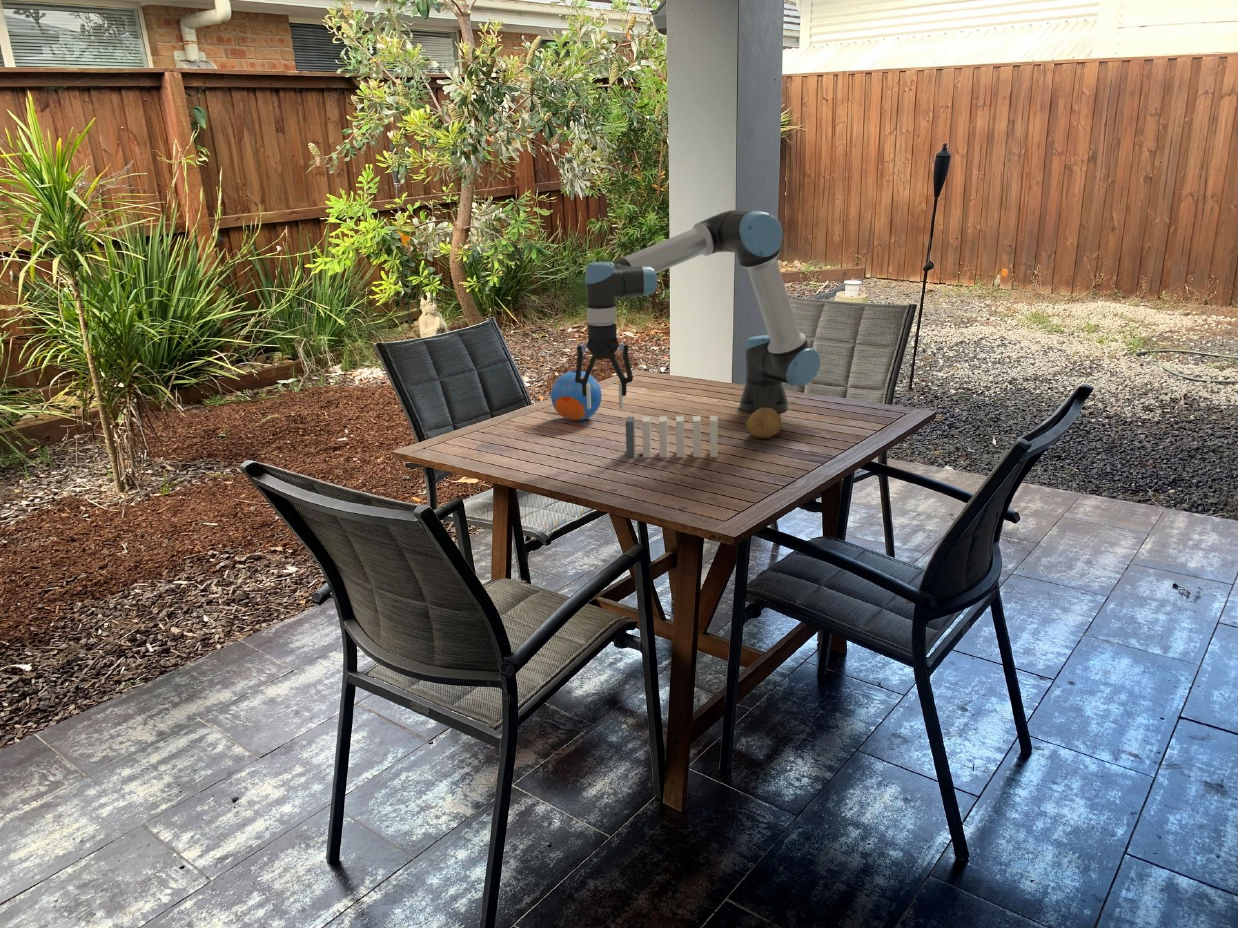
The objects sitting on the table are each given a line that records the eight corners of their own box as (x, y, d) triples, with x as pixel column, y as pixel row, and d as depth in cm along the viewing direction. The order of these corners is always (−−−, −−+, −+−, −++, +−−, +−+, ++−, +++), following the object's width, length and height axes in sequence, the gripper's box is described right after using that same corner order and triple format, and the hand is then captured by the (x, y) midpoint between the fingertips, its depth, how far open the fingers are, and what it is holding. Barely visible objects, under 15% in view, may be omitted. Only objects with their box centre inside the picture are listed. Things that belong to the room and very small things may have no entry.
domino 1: (635, 451, 250) (634, 416, 247) (634, 457, 245) (633, 421, 242) (628, 451, 250) (626, 416, 247) (626, 457, 245) (625, 421, 242)
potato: (782, 430, 265) (783, 403, 262) (779, 444, 252) (780, 416, 249) (749, 429, 267) (749, 402, 264) (744, 443, 254) (744, 415, 251)
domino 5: (700, 451, 248) (700, 416, 245) (700, 457, 244) (700, 421, 240) (693, 451, 248) (693, 416, 245) (693, 457, 244) (693, 421, 241)
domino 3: (667, 451, 249) (667, 416, 246) (667, 457, 244) (666, 421, 241) (660, 451, 249) (659, 416, 246) (659, 457, 244) (659, 421, 241)
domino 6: (717, 451, 248) (717, 416, 245) (717, 457, 243) (717, 421, 240) (709, 451, 248) (709, 416, 245) (710, 457, 243) (710, 421, 240)
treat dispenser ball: (544, 424, 278) (541, 375, 273) (565, 411, 292) (562, 364, 287) (590, 428, 273) (588, 378, 268) (609, 415, 286) (608, 367, 281)
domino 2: (651, 451, 249) (650, 416, 246) (650, 457, 245) (649, 421, 242) (644, 451, 250) (643, 416, 246) (642, 457, 245) (642, 421, 242)
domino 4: (684, 451, 249) (683, 416, 245) (683, 457, 244) (683, 421, 241) (676, 451, 249) (676, 416, 246) (676, 457, 244) (676, 421, 241)
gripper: (642, 320, 239) (644, 403, 247) (564, 321, 241) (568, 404, 248) (640, 325, 232) (643, 411, 239) (560, 326, 234) (564, 411, 241)
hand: (605, 407), depth 244 cm, fingers open, 8 cm apart
